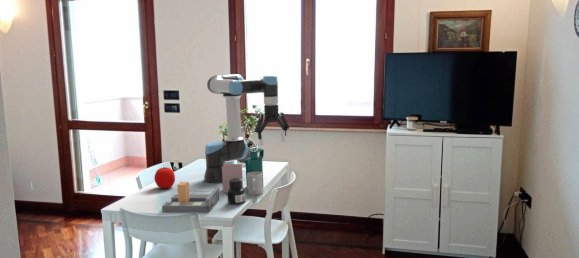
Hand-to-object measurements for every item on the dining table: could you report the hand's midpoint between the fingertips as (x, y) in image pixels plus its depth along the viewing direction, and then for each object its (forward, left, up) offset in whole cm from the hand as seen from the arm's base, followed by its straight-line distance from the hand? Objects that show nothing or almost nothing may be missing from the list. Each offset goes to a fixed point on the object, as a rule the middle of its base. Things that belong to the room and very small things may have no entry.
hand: (272, 143), depth 248 cm
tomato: (-50, -45, -28) cm, 73 cm away
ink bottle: (+1, -23, -28) cm, 37 cm away
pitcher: (-19, -1, -28) cm, 34 cm away
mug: (-7, -8, -28) cm, 30 cm away
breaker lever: (-11, -47, -26) cm, 55 cm away
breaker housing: (-8, -44, -28) cm, 53 cm away
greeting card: (-20, -16, -28) cm, 38 cm away
